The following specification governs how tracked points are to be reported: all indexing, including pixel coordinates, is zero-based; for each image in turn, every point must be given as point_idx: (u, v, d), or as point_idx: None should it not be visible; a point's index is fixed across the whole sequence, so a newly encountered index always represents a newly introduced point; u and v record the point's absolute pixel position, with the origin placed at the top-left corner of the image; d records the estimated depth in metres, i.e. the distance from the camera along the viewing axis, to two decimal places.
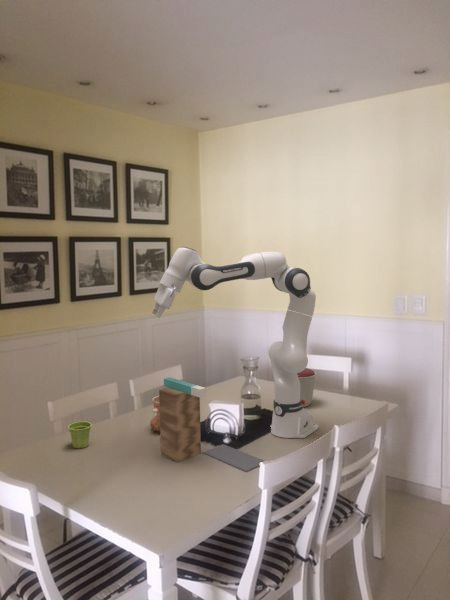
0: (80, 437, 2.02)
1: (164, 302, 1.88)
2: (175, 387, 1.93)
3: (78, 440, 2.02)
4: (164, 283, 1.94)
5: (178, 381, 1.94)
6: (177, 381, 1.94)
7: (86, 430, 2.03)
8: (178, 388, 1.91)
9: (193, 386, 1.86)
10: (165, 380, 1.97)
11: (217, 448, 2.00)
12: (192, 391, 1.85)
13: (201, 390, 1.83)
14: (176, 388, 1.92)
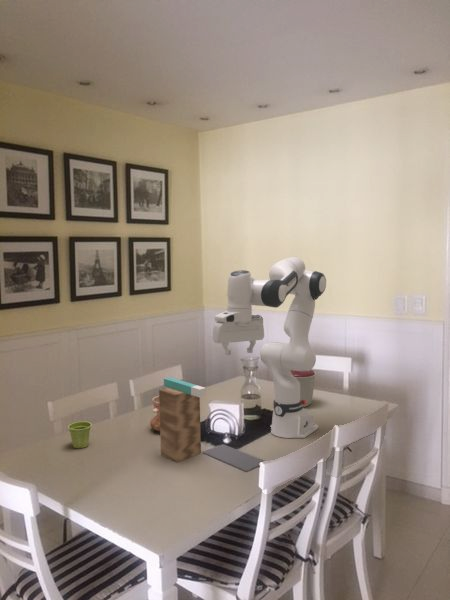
0: (80, 437, 2.02)
1: None
2: (175, 387, 1.93)
3: (78, 440, 2.02)
4: (251, 318, 1.79)
5: (178, 381, 1.94)
6: (177, 381, 1.94)
7: (86, 430, 2.03)
8: (178, 388, 1.91)
9: (193, 386, 1.86)
10: (165, 380, 1.97)
11: (217, 448, 2.00)
12: (192, 391, 1.85)
13: (201, 390, 1.83)
14: (176, 388, 1.92)
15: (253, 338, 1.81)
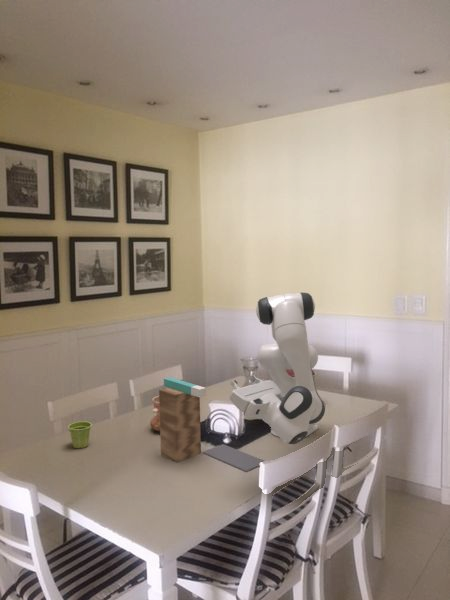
0: (80, 437, 2.02)
1: None
2: (175, 387, 1.93)
3: (78, 440, 2.02)
4: None
5: (178, 381, 1.94)
6: (177, 381, 1.94)
7: (86, 430, 2.03)
8: (178, 388, 1.91)
9: (193, 386, 1.86)
10: (165, 380, 1.97)
11: (217, 448, 2.00)
12: (192, 391, 1.85)
13: (201, 390, 1.83)
14: (176, 388, 1.92)
15: None
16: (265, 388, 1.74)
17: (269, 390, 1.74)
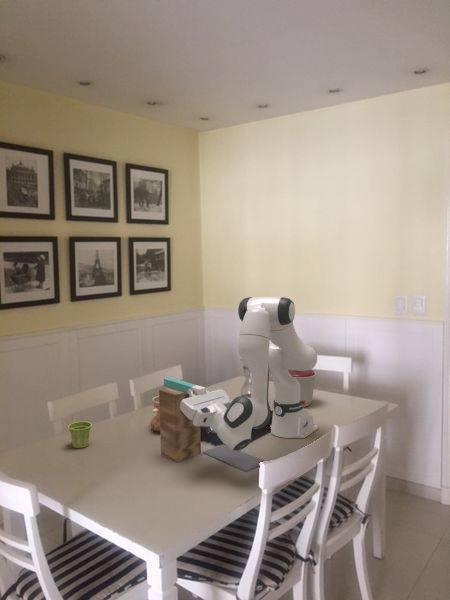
0: (80, 437, 2.02)
1: None
2: (175, 387, 1.93)
3: (78, 440, 2.02)
4: None
5: (178, 381, 1.94)
6: (177, 381, 1.94)
7: (86, 430, 2.03)
8: (178, 388, 1.91)
9: (193, 386, 1.86)
10: (165, 380, 1.97)
11: (217, 448, 2.00)
12: None
13: (201, 390, 1.83)
14: (176, 388, 1.92)
15: None
16: (215, 397, 1.84)
17: (218, 399, 1.84)
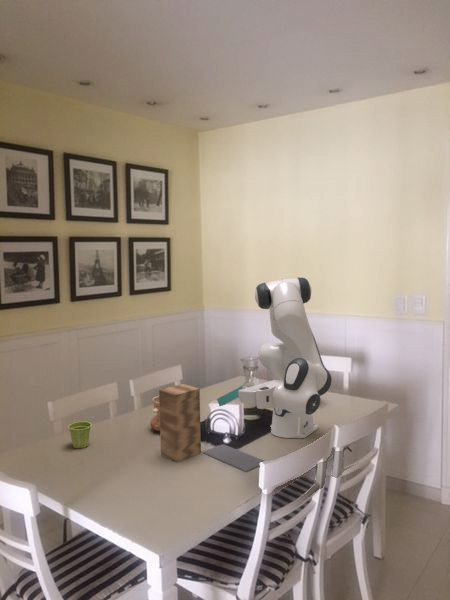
0: (80, 437, 2.02)
1: None
2: (230, 398, 1.86)
3: (78, 440, 2.02)
4: None
5: None
6: None
7: (86, 430, 2.03)
8: (233, 396, 1.85)
9: (246, 383, 1.81)
10: (219, 399, 1.91)
11: (217, 448, 2.00)
12: None
13: (254, 381, 1.78)
14: (231, 398, 1.86)
15: None
16: None
17: None
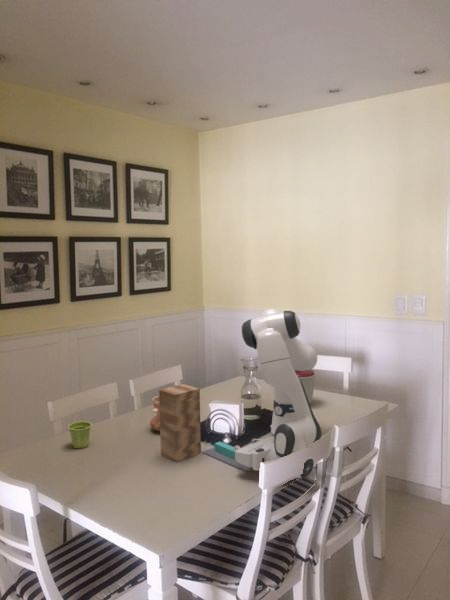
0: (80, 437, 2.02)
1: None
2: (228, 454, 1.92)
3: (78, 440, 2.02)
4: None
5: (230, 447, 1.93)
6: (229, 447, 1.93)
7: (86, 430, 2.03)
8: (231, 455, 1.91)
9: None
10: (216, 445, 1.96)
11: None
12: None
13: None
14: (228, 455, 1.91)
15: None
16: (266, 442, 1.83)
17: None
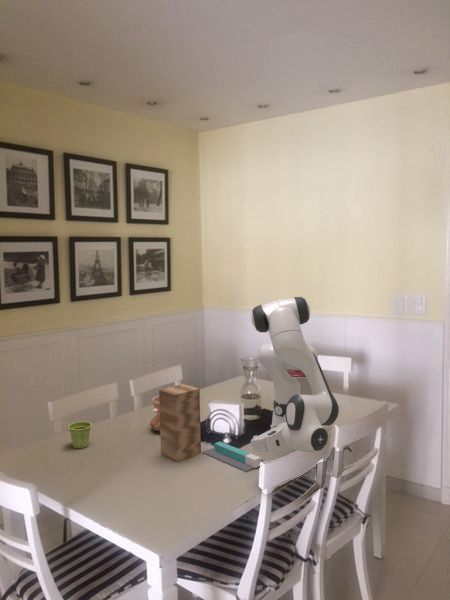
0: (80, 437, 2.02)
1: None
2: (228, 454, 1.92)
3: (78, 440, 2.02)
4: None
5: (230, 447, 1.93)
6: (229, 447, 1.93)
7: (86, 430, 2.03)
8: (231, 455, 1.91)
9: (247, 455, 1.85)
10: (216, 445, 1.96)
11: None
12: (246, 460, 1.84)
13: (256, 461, 1.82)
14: (228, 455, 1.91)
15: None
16: None
17: None
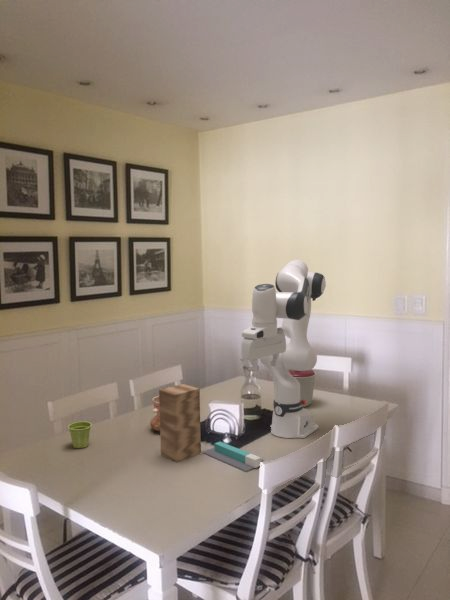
0: (80, 437, 2.02)
1: None
2: (228, 454, 1.92)
3: (78, 440, 2.02)
4: None
5: (230, 447, 1.93)
6: (229, 447, 1.93)
7: (86, 430, 2.03)
8: (231, 455, 1.91)
9: (247, 455, 1.85)
10: (216, 445, 1.96)
11: None
12: (246, 460, 1.84)
13: (256, 461, 1.82)
14: (228, 455, 1.91)
15: (277, 351, 1.80)
16: None
17: None
